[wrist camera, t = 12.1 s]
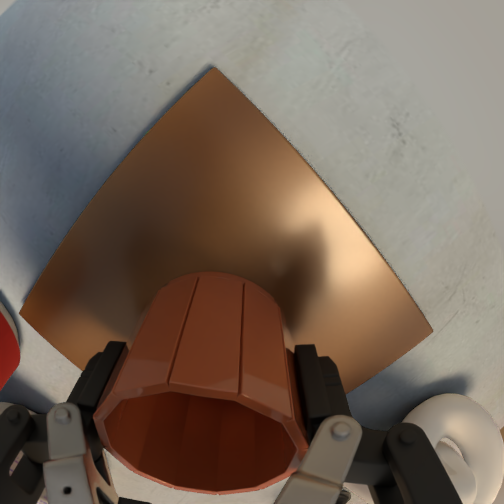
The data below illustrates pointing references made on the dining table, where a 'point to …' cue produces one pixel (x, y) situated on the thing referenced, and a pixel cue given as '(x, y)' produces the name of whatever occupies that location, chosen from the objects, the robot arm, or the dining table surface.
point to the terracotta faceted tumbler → (206, 390)
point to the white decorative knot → (459, 446)
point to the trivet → (224, 241)
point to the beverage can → (8, 346)
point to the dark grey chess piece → (343, 497)
